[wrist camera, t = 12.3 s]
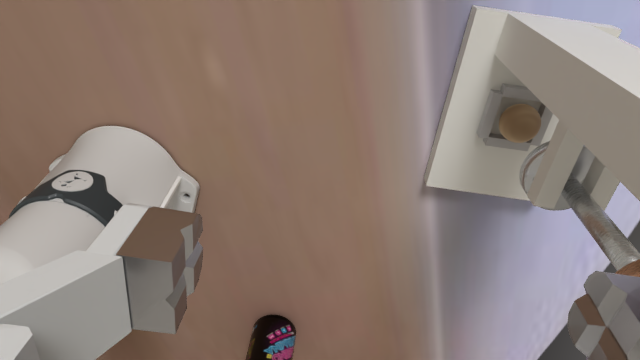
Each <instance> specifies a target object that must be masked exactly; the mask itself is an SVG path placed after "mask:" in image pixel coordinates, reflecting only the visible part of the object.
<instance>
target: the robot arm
mask: <svg viewBox="0 0 640 360" xmlns="http://www.w3.org/2000/svg"><path fill="white" fill-rule="evenodd" d="M49 171H50V173H49V174H48V175H47V176H46V177H45V178H44V179H43V180H42V181H41V183H40V184H39V185H38V186H37V187H36V188H35V189H34V190H33V191H32V192H31V193H30V194H29V195H28V196H26V197H24V198H23V199H22V200H21V201H20V202H19V203H18V205H17V206H16V207H15V208H14V209H13V211H12V212H11V214H10V216H9V219H8V220H7V221H5V222H4V223H3V224H2V225H1V226H0V360H95V359H97V358H98V357H99V356H100V355H102V354H103V353H104V352H106V351H107V350H108V349H110V348H111V347H112V346H113V345H115V344H116V343H117V342H119V341H120V340H121V339H123V338H124V337H125V336H126V335H128V334H129V333H130V332H131V331H132V330H131V329H136V330H144V331H153V332H162V333H171V334H176V332H177V330H178V327H179V325H180V323H181V320H182V318H183V316H184V314H185V311H186V309H187V296H188V295H190V294H191V293H193V292H194V291H195V288H196V286H197V283H198V280H199V276H200V273H201V269H202V260H203V247H202V246H201V245H200V243H199V242H198V240H199V238H200V236H201V233H202V231H203V225H202V217H201V215H200V214H197V213H194V212H195V207H196V203H197V198H198V194H199V189H200V187H199V184H198V182H197V181H196V180H195V179H194V178H192V177H191V176H190V175H188V174H187V173H185V172H184V171H182V170H181V169H180V168H179V167H178V166H177V164H176V163H175V162H174V160H173V159H172V157H171V156H170V155H169V154H168V152H167V151H166V150H165V149H164V148H163V147H162V146H160V145H159V144H158V143H157V142H156V141H154V140H153V139H151V138H150V137H148V136H146V135H144V134H142V133H140V132H138V131H135V130H133V129H129V128H125V127H120V126H103V127H98V128H94V129H91V130H89V131H87V132H86V133H84V134H83V135H81V136H80V137H79V138H78V139H77V140H76V142H75V143H74V145H73V146H72V148H71V149H70V151H69V152H68V153H67V154H65V155H63V156H61V157H59V158H57V159H56V160H54V162H53V163H52V164H51V165H50V167H49ZM186 194H189V196H187V195H186ZM584 288H585V291H586V295H584V296H582V297H580V298H579V299H577V300H575V301H574V303H573V305H572V307H571V309H570V311H569V315H568V330H569V334H570V337H571V339H572V341H573V343H574V345H575V347H577V348H578V349H579V350H580V351H581V352H583V353H584V354H585V355H586V356H587V358H586V360H640V277H635V276H628V275H621V274H613V273H606V272H599V271H595V272H594V273H593V274H591V275H590V276H589V277H588V279H587V280H586V282H585V284H584Z"/></svg>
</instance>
